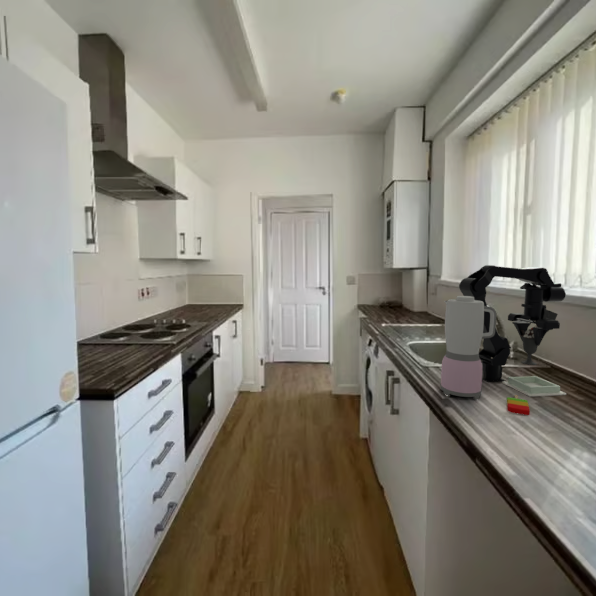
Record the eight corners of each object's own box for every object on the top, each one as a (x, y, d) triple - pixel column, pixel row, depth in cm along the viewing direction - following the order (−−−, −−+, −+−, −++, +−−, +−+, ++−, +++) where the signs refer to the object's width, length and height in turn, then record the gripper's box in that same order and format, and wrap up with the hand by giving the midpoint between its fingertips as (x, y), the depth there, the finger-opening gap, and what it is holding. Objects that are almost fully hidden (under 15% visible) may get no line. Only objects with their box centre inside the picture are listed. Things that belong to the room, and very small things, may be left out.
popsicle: (507, 413, 104) (507, 407, 104) (506, 396, 117) (506, 390, 117) (529, 417, 102) (530, 411, 101) (526, 399, 115) (526, 393, 115)
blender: (443, 399, 114) (448, 298, 110) (436, 385, 126) (440, 294, 122) (497, 403, 110) (504, 299, 107) (485, 389, 122) (491, 295, 119)
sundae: (543, 365, 131) (547, 325, 130) (525, 365, 131) (528, 325, 130) (532, 360, 138) (535, 322, 136) (514, 360, 138) (517, 322, 136)
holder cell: (529, 396, 116) (530, 389, 116) (502, 382, 129) (502, 376, 128) (566, 394, 117) (566, 387, 117) (535, 381, 130) (536, 374, 130)
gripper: (575, 304, 124) (571, 349, 126) (534, 298, 142) (531, 337, 144) (546, 305, 123) (542, 349, 124) (508, 299, 141) (505, 338, 143)
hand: (530, 343), depth 134 cm, fingers closed on sundae, 6 cm apart
